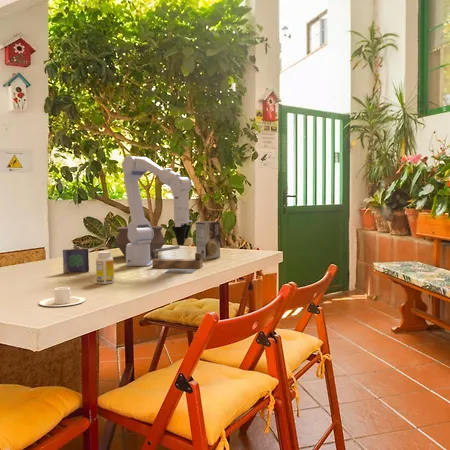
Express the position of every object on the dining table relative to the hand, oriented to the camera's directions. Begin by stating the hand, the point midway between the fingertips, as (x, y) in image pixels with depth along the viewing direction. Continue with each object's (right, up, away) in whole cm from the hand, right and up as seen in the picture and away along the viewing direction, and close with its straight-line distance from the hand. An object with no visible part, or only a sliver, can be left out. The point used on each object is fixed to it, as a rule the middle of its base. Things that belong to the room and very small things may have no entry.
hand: (182, 244), depth 189 cm
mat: (0, -10, -5) cm, 11 cm away
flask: (-39, -11, -3) cm, 41 cm away
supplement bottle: (-23, -12, -26) cm, 36 cm away
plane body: (-2, -9, +6) cm, 11 cm away
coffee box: (+9, -7, +32) cm, 35 cm away
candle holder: (-28, -14, -54) cm, 62 cm away
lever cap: (0, 0, 0) cm, 0 cm away
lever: (-7, -5, +12) cm, 15 cm away
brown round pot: (-23, -7, +40) cm, 46 cm away
